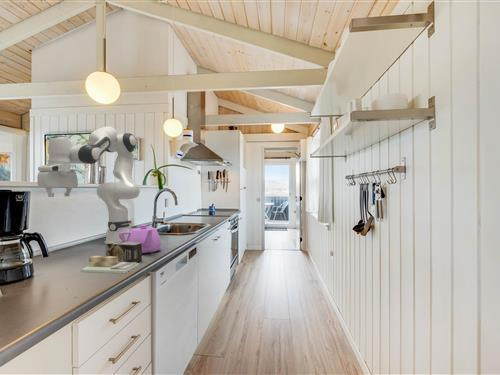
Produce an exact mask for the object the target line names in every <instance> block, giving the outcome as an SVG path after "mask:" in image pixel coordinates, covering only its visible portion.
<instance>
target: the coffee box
mask: <svg viewBox="0 0 500 375" xmlns="http://www.w3.org/2000/svg"><path fill="white" fill-rule="evenodd" d="M105 256H117V257H118V263H121V262H137V263H141V262H143V253H142V243H136V242H123V241H113V242H109V243H105Z"/></svg>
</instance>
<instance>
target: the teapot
mask: <svg viewBox="0 0 500 375" xmlns="http://www.w3.org/2000/svg"><path fill="white" fill-rule="evenodd" d="M124 234H128V236H127V240H125V238H124ZM119 237H120V239H121V240H122V241H123V242H136V243H142V254H147V253H151V254H152V253H155V252H157V251H159V250H160V248H161V247H162V244H161V243H162V241H161V237H160V234H159V232H158V229H157V228H156V227H153V226H148V224H145V223H144V224H140V225H139V227H136V228H135V227H134V228H132V229H131V230H130V232H127V231H124V232H120V233H119Z"/></svg>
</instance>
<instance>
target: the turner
mask: <svg viewBox="0 0 500 375" xmlns="http://www.w3.org/2000/svg"><path fill="white" fill-rule="evenodd" d="M136 264H137V262H121V263H119V264H118V257H117V256H106V255H91V256H89V257H88V266H91V267H111V269H119V270H127V269H129V268H130V267H132V266H134V265H136Z"/></svg>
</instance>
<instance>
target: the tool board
mask: <svg viewBox="0 0 500 375" xmlns="http://www.w3.org/2000/svg"><path fill="white" fill-rule="evenodd" d="M118 264H119V263H118ZM139 266H140V262H138V263H137V264H136V265H134V266H132V267H130V268H129V269H127V270H119V269H111V267H91V266H89V265H87V266H85V267H83V268H80V273H101V274H102V273H106V274H127V273H129V272H130V271H133V270H134V269H136V268H137V267H139ZM128 271H129V272H128ZM126 272H127V273H126Z"/></svg>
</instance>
